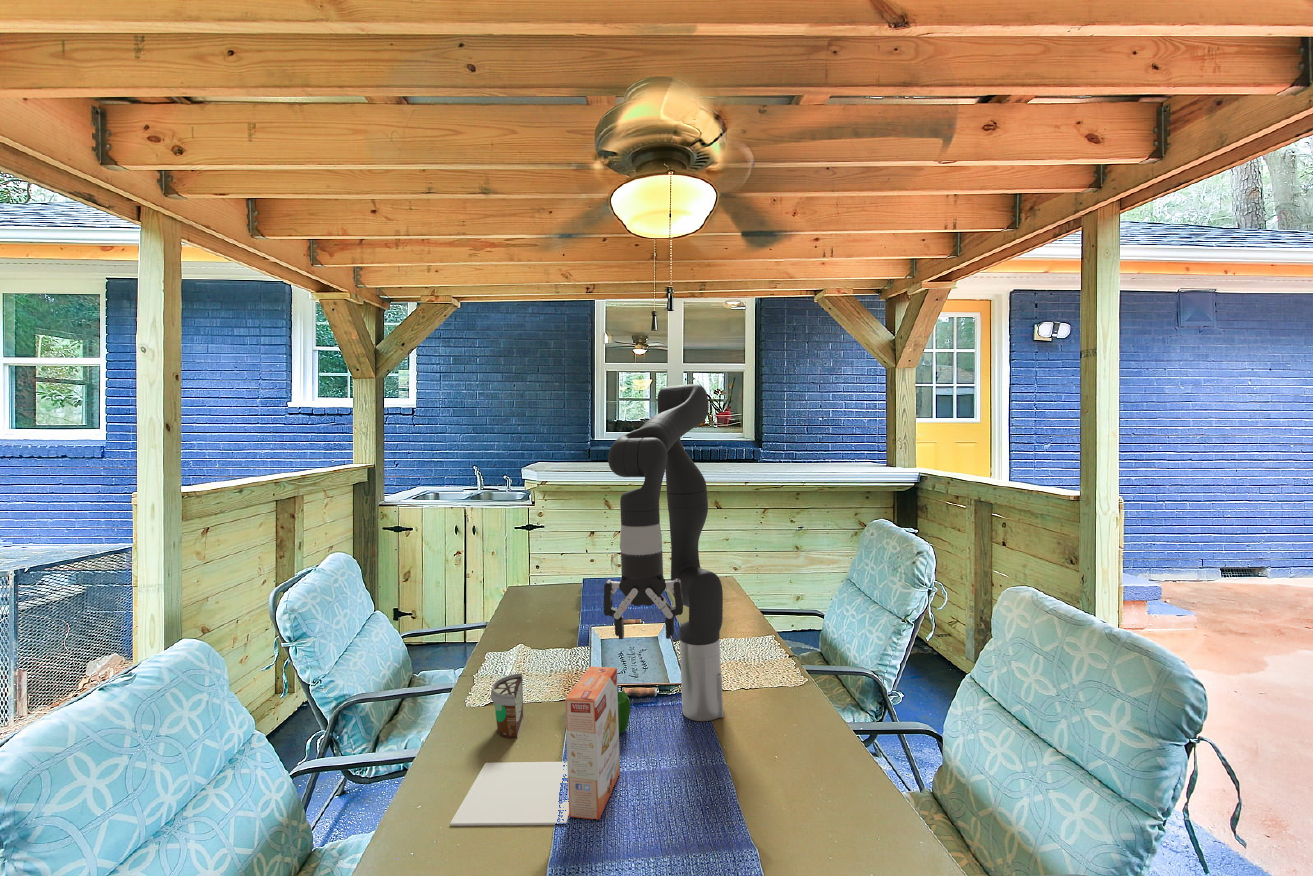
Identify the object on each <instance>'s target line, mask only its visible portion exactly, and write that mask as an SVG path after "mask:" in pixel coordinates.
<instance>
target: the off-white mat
mask: <svg viewBox="0 0 1313 876" xmlns="http://www.w3.org/2000/svg"><path fill="white" fill-rule="evenodd" d="M564 762H566V763H564ZM563 765H565V767H563ZM566 765H567V761H524V762H523V761H521V762H520V761H517V762H515V761H513V762H512V761H511V762H503V761H502V762H485V763H484V764H483V767H482V768H481V770H480V771H479V773H478V775H477V777H476V778H475V780H474V782H473V783H472V784H471V787H470V788H469V790H468V792H467V793H466V796H465V797H464V799H463V801H462V802H461V803H460V806H459V807H458V809H457V811H456V813H455V814H454V816H453V818H452V819H451V821H450V823H449V826H451V827H455V826H456V827H457V826H458V827H459V826H460V827H461V826H463V827H465V826H466V827H467V826H469V827H470V826H471V827H473V826H476V827H477V826H556V825H555V824H556V823H568V821H567V819H568V820H569V818H568V816H569V802H568V801H569V800H565V801H567V802H563V803H562V804H561V805H560V807H561V808H559V802H558V801H559V792H560V787H561V785H560V783H562V781H563V780H562V778H564V777H563V774H566V775H567V776H565V775H564V776H565V778H568V770H566V769H567V766H566ZM563 769H565V770H563ZM563 783H568V782H567V781H565V782H564V781H563ZM563 801H564V800H563ZM563 807H564V808H563ZM558 810H564V811H561V812H563V813H562V814H561V813H560V815H563V817H562V818H561V817H559V816H558V815H559V811H558ZM565 810H566V811H565ZM558 817H559V818H560V819H561V821H560V822H557V819H558ZM562 819H564V821H563V820H562ZM558 821H559V820H558Z"/></svg>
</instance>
